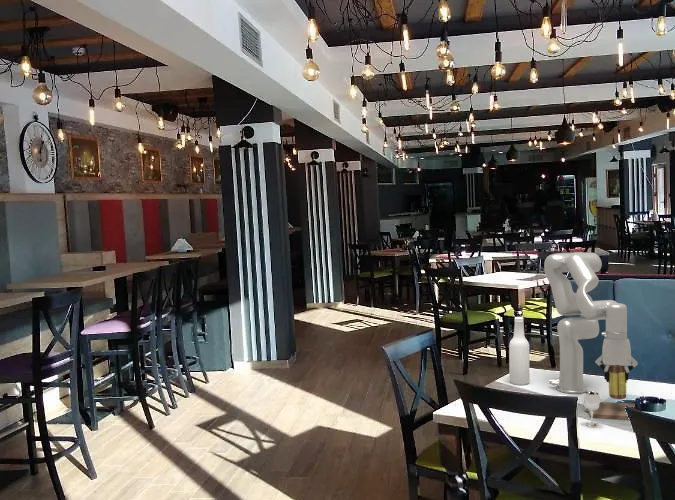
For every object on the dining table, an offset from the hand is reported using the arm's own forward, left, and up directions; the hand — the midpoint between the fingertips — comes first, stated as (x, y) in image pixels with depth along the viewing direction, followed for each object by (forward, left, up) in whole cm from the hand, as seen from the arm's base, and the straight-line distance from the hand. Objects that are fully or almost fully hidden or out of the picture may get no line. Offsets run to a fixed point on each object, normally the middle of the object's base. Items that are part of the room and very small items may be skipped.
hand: (616, 381), depth 257 cm
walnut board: (0, 0, -13) cm, 13 cm away
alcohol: (-37, +35, -13) cm, 53 cm away
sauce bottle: (0, 0, -7) cm, 7 cm away
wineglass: (-10, -16, -13) cm, 23 cm away
